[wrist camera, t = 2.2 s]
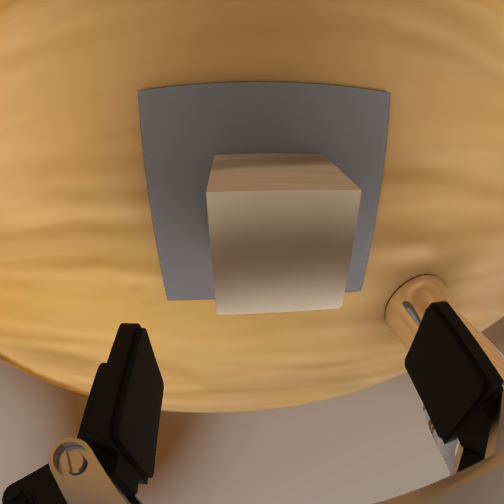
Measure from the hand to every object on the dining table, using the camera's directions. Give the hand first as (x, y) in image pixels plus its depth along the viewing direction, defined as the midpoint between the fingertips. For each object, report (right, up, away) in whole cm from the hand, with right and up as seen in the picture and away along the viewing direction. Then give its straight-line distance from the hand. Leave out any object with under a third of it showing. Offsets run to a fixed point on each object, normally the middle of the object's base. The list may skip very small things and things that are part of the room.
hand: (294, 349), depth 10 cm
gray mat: (0, +6, +9) cm, 11 cm away
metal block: (0, +6, +9) cm, 10 cm away
